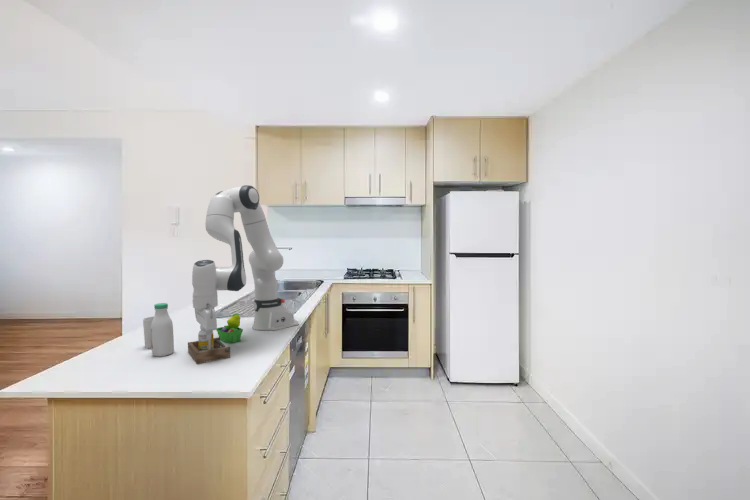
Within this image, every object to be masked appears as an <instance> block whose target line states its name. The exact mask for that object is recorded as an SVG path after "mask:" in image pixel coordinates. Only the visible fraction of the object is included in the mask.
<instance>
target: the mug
mask: <svg viewBox="0 0 750 500" xmlns="http://www.w3.org/2000/svg"><path fill="white" fill-rule="evenodd" d="M154 316H155V315H154ZM154 316H153V315H152V316H147V317H144V318H143V319H142V322H143V323H142V324H143V336H144V337H143V338H144V348H146V349H152V343H151V323H152V320H153V318H154Z"/></svg>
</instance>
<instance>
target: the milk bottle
mask: <svg viewBox="0 0 750 500" xmlns="http://www.w3.org/2000/svg"><path fill="white" fill-rule="evenodd" d="M168 307H169V305H168V303H167V302H161V303H160V302H159V303H156V304H154V318H153V320H152V323H151V343H152V348H151V354H152V356H153V357H165V356H169V355H172V354H174V352H175V343H174V341H175V339H174V337H175V336H174V324H173V320H172V318H171V316H170V315H169V311H168Z"/></svg>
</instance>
